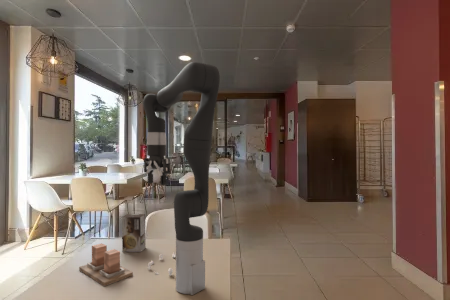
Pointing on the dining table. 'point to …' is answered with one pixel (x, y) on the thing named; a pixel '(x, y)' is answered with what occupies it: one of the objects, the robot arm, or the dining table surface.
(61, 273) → the dining table surface
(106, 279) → the board
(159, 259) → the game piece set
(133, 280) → the dining table surface
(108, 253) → the pin
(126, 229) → the coffee box
